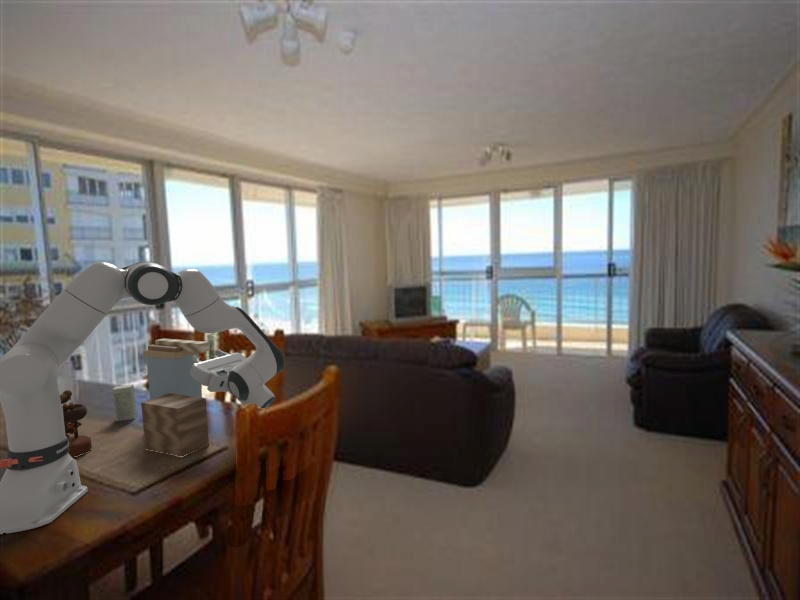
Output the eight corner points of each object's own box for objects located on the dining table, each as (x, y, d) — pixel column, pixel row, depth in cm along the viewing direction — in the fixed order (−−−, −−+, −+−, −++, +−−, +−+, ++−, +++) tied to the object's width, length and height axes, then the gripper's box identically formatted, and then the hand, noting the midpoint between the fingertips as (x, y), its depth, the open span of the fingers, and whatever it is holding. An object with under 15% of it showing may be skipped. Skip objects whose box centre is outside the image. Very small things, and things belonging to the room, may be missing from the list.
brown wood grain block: (209, 445, 145) (205, 398, 143) (181, 458, 136) (177, 408, 134) (173, 437, 152) (169, 393, 150) (145, 449, 143) (141, 402, 141)
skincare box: (137, 415, 175) (134, 383, 173) (134, 419, 171) (131, 386, 169) (117, 417, 173) (114, 385, 171) (114, 421, 169) (111, 389, 167)
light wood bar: (209, 350, 157) (208, 341, 157) (201, 352, 154) (200, 343, 154) (164, 346, 166) (164, 338, 166) (156, 348, 163) (155, 340, 163)
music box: (83, 459, 137) (69, 394, 134) (41, 467, 134) (26, 401, 132) (103, 439, 152) (91, 380, 149) (65, 446, 149) (52, 386, 147)
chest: (206, 420, 167) (200, 342, 164) (179, 431, 157) (173, 348, 154) (176, 415, 173) (170, 340, 170) (150, 425, 163) (143, 346, 160)
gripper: (259, 362, 159) (231, 340, 164) (212, 377, 141) (182, 352, 146) (252, 377, 161) (226, 355, 166) (205, 393, 143) (177, 368, 147)
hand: (205, 353), depth 155 cm, fingers open, 8 cm apart
